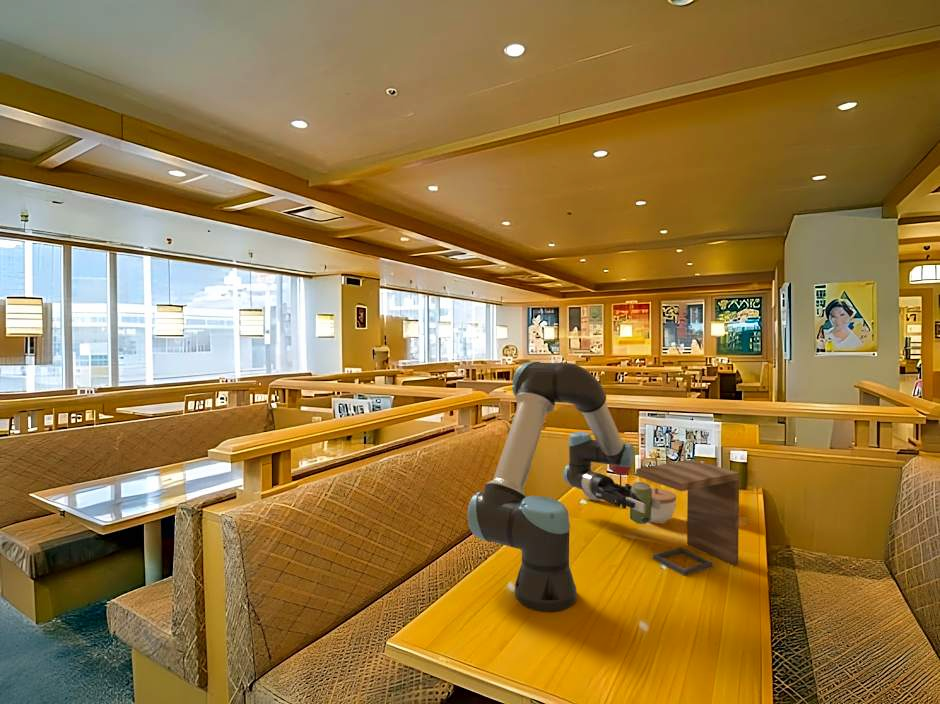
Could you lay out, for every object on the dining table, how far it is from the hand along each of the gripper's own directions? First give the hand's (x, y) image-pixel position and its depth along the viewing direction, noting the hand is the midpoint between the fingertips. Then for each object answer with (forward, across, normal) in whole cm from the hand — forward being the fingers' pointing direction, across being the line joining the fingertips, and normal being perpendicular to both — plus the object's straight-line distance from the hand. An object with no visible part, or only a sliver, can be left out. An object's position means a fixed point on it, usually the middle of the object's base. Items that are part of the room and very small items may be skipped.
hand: (651, 506), depth 149 cm
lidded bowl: (-18, -21, -14) cm, 31 cm away
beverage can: (-5, -1, -7) cm, 9 cm away
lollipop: (-46, -30, -14) cm, 57 cm away
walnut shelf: (+9, -4, -14) cm, 17 cm away
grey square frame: (+9, -3, -14) cm, 16 cm away
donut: (-44, -15, -14) cm, 49 cm away
